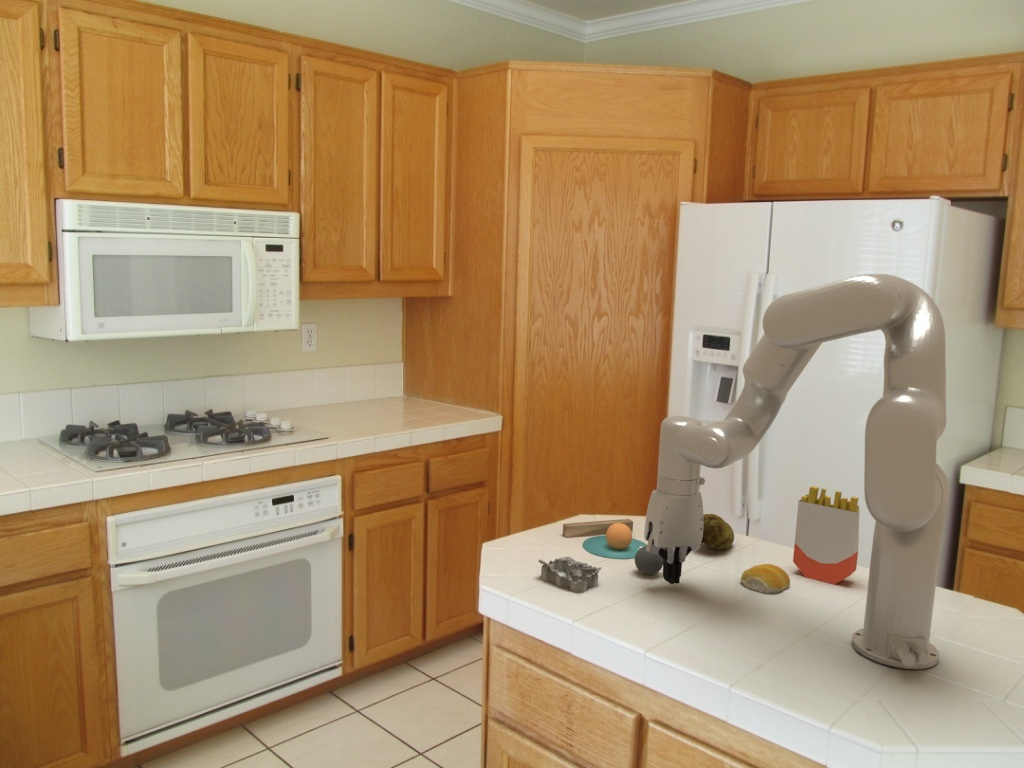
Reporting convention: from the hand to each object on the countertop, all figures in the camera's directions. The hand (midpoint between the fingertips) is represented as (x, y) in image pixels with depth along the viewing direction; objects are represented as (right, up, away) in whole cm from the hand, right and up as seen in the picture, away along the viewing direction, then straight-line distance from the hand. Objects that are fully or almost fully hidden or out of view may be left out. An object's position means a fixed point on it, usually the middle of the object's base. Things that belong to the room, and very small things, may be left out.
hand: (671, 581), depth 155 cm
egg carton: (-19, -1, +2) cm, 19 cm away
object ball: (-7, +5, +20) cm, 22 cm away
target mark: (-8, +2, +22) cm, 23 cm away
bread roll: (+18, -2, +4) cm, 19 cm away
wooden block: (-10, +3, +30) cm, 32 cm away
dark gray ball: (-3, +2, +7) cm, 8 cm away
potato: (+14, +1, +24) cm, 27 cm away
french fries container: (+31, -2, +9) cm, 33 cm away
